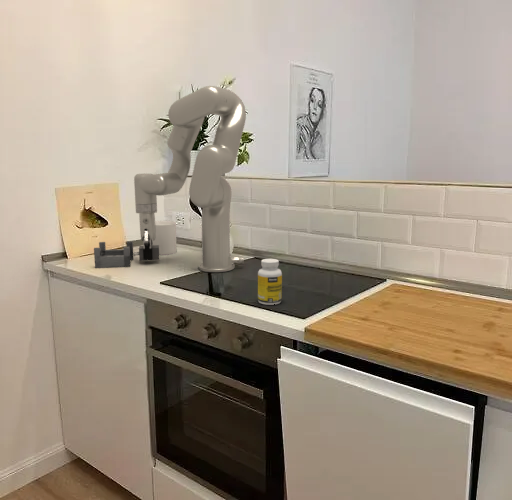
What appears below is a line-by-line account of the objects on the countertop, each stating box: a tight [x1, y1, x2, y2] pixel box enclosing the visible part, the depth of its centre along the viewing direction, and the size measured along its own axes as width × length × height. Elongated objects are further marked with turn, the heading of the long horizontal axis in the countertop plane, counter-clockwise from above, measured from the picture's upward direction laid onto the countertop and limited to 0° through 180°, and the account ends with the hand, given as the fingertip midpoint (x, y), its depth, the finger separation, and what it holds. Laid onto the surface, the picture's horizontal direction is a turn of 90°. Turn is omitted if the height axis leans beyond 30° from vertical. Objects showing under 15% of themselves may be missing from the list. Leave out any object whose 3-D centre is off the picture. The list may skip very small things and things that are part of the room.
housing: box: [93, 240, 135, 269], centre depth 183 cm, size 12×12×7 cm
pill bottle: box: [257, 258, 283, 306], centre depth 137 cm, size 6×6×12 cm
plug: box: [133, 245, 160, 262], centre depth 185 cm, size 9×5×4 cm, turn 100°
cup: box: [152, 220, 177, 256], centre depth 202 cm, size 12×12×12 cm
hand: (148, 257), depth 185 cm, fingers closed on plug, 5 cm apart
